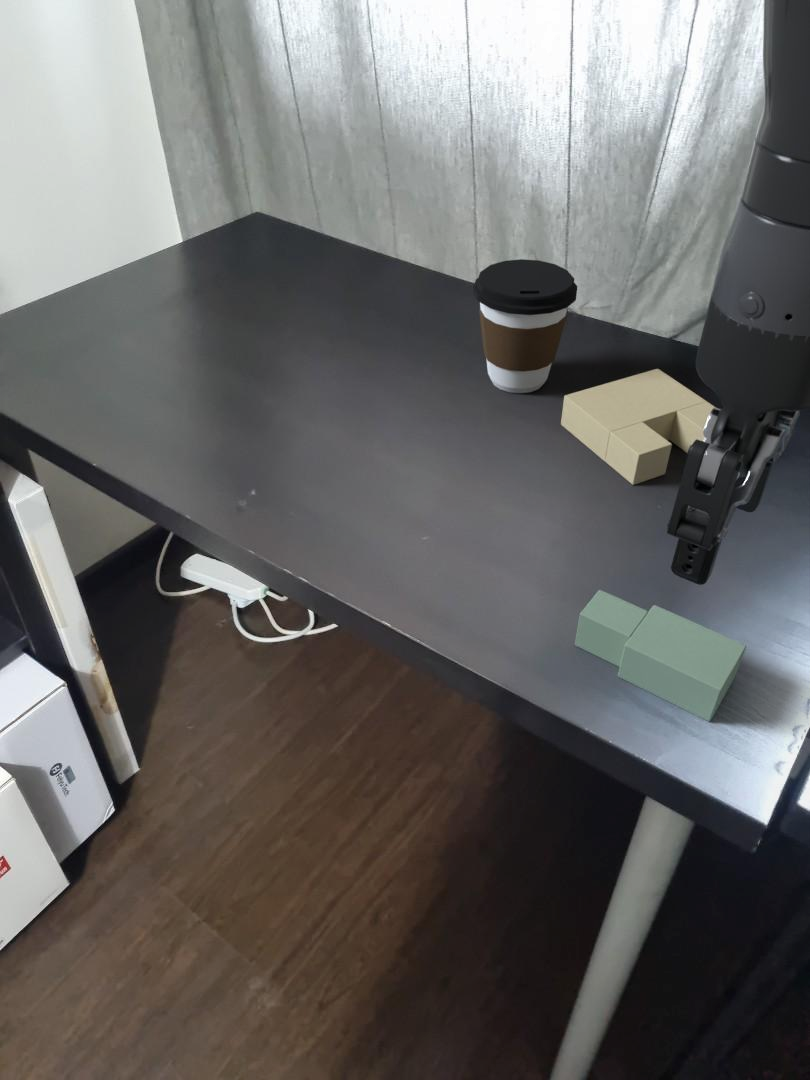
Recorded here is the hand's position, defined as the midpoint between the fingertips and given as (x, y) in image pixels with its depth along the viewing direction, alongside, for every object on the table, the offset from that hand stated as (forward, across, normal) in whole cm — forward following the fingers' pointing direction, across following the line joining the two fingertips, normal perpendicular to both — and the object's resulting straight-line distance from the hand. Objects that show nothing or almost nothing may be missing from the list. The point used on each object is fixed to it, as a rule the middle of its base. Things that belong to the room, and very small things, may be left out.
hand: (715, 539), depth 52 cm
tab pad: (+13, 0, +2) cm, 13 cm away
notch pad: (+13, +28, +15) cm, 34 cm away
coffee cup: (+13, +30, +32) cm, 46 cm away
